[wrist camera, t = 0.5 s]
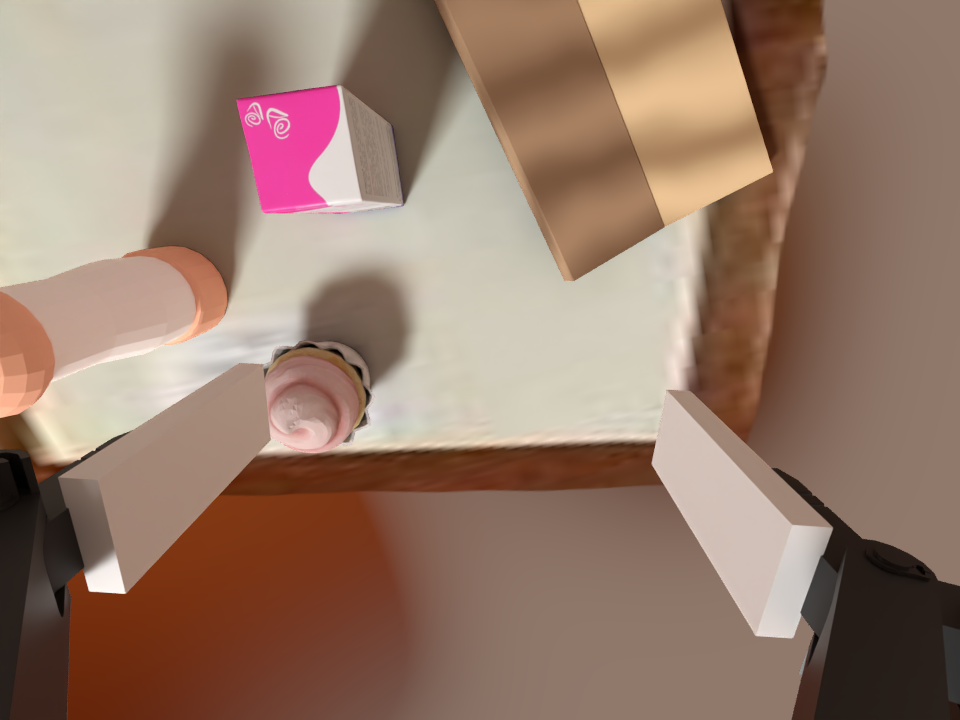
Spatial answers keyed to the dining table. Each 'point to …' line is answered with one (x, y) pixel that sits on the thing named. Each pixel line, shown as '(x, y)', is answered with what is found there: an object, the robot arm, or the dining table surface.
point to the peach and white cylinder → (102, 317)
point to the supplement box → (320, 152)
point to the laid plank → (679, 98)
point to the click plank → (556, 125)
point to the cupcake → (317, 395)
